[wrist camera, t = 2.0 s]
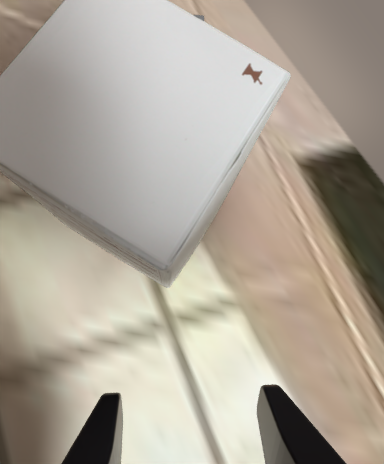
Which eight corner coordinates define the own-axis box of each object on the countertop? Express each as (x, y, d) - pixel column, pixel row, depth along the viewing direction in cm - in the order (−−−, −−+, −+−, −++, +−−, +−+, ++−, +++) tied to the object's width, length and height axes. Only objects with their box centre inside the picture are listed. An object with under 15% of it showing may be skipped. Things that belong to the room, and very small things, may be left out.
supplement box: (133, 134, 24) (99, -53, 11) (230, 195, 23) (303, 69, 11) (64, 227, 22) (-61, 128, 10) (167, 293, 22) (170, 276, 9)
